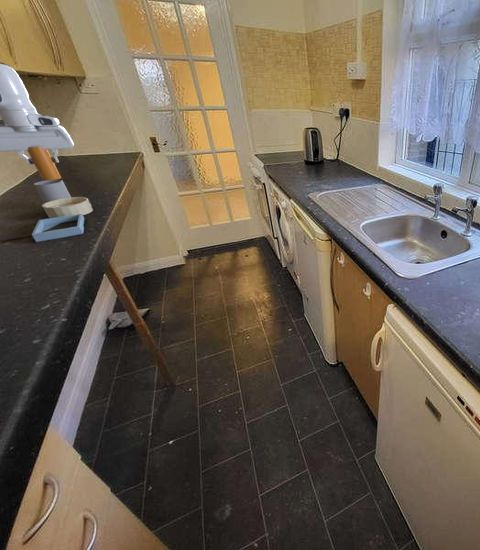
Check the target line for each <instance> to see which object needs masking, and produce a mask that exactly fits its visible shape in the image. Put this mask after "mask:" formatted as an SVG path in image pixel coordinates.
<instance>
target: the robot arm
mask: <svg viewBox="0 0 480 550" xmlns="http://www.w3.org/2000/svg"><path fill="white" fill-rule="evenodd" d="M0 118H1V119H0V152H1V153H3V152H16V153H17V155H18V156H20V157H21V158H22V159H24V160H25V162H26V163H27V165H29V166H30V165H35V164H34V162H33V160H32V159H31V157H28V156H27V155H26V154H25V153H26V152H25V151H27V150H29V149H28V147H42V148H43V149H47V150H51V152H52V153H53V154H54V155H53V156H51V159H52V160H53V163H54V164H58V163H60V161H59V158H58V155H59V150H62V149H65V150H66V149H73V148H74V147H75V142H74V140H73V138H72V137H71V135H70V134H69V131H67V130H66V128H65V127H64V126H63V125H60V124H61V123H60V120H59V119H58V118H57V117H54V116H49V115H46V114H40V113H38V111H37V109H36V107H35V106H34V104H32V102H31V100H30V95H29V92H28V90H27V88H26V87H25V84H24V82H23V80H22V79H21V78H20V75H19V74H18V73H17V72H16V70H15V69H14V68H13V67H12V66H10V65H8V64H7V63H4V62H1V61H0Z"/></svg>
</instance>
